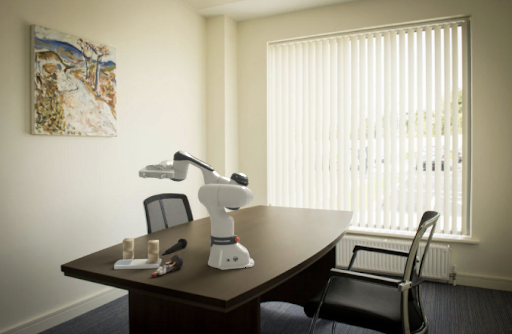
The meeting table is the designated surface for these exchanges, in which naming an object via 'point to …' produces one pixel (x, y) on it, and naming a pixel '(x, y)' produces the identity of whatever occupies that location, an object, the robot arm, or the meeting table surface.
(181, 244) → the microphone
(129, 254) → the loose pillar
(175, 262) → the figurine
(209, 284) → the meeting table surface
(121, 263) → the white base board
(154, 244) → the standing pillar
